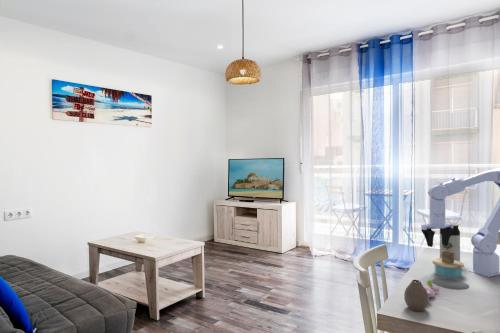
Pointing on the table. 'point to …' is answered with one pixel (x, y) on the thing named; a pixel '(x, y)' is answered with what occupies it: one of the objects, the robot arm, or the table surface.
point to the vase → (416, 296)
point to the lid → (448, 261)
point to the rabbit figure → (431, 289)
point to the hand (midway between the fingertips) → (437, 245)
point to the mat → (450, 283)
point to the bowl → (448, 271)
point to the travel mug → (452, 242)
